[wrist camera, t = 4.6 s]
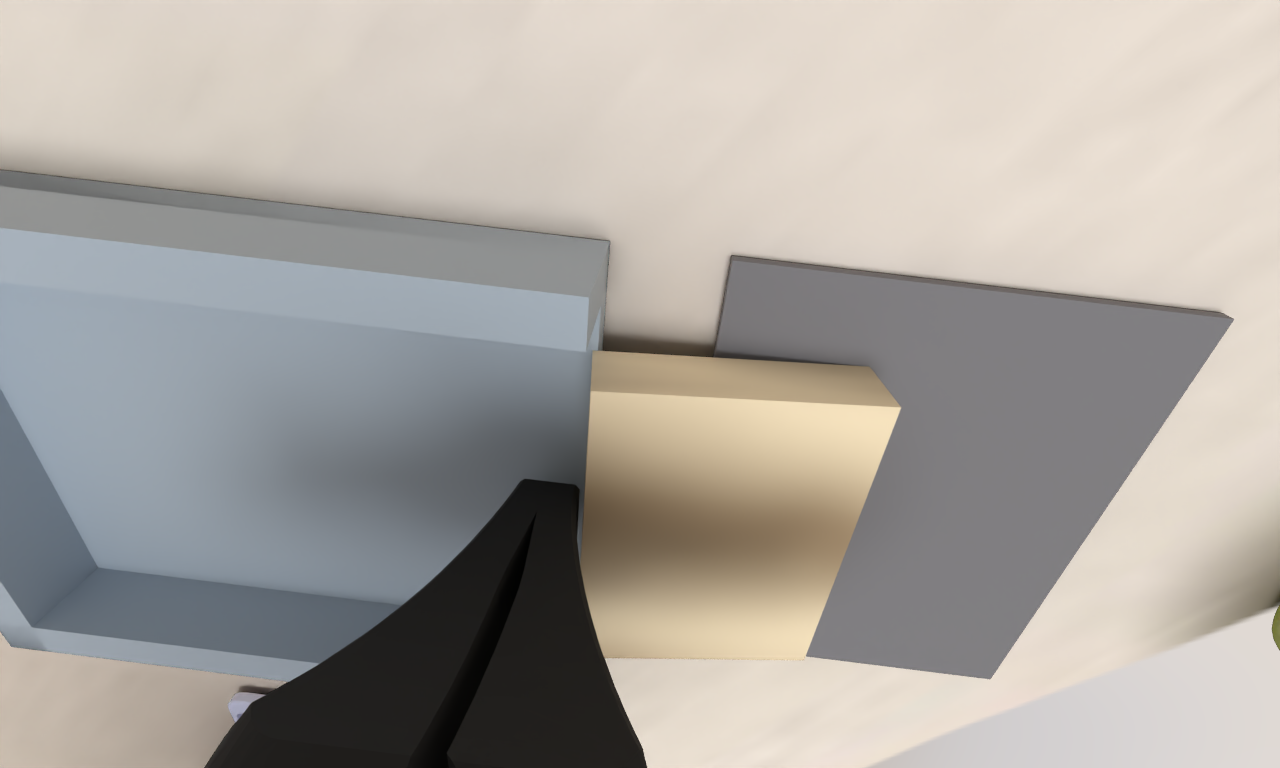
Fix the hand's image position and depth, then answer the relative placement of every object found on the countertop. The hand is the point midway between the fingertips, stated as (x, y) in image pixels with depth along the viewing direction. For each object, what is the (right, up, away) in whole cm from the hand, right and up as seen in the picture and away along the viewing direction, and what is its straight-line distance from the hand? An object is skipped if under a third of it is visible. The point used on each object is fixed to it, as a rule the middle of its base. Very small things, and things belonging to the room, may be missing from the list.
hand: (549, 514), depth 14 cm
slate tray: (-7, +2, +2) cm, 7 cm away
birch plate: (+4, 0, +1) cm, 4 cm away
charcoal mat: (+8, 0, +2) cm, 8 cm away
